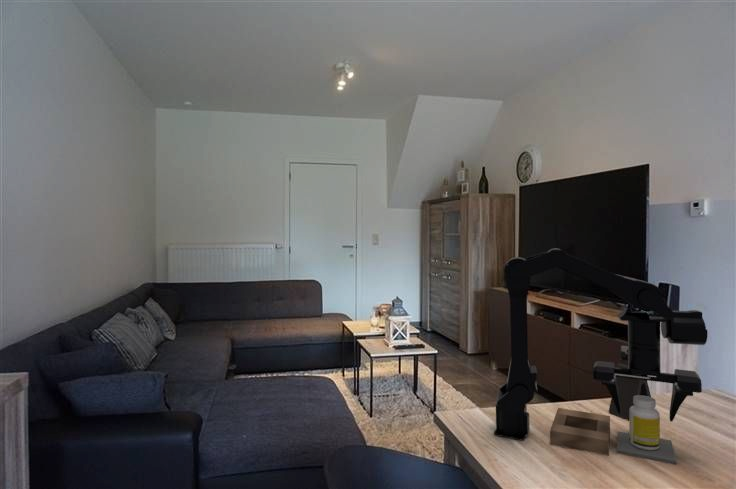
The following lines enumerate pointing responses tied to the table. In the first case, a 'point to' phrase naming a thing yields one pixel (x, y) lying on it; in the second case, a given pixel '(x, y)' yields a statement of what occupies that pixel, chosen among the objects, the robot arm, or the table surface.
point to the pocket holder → (581, 431)
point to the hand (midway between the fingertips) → (644, 416)
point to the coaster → (660, 454)
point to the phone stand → (628, 393)
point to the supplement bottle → (644, 423)
